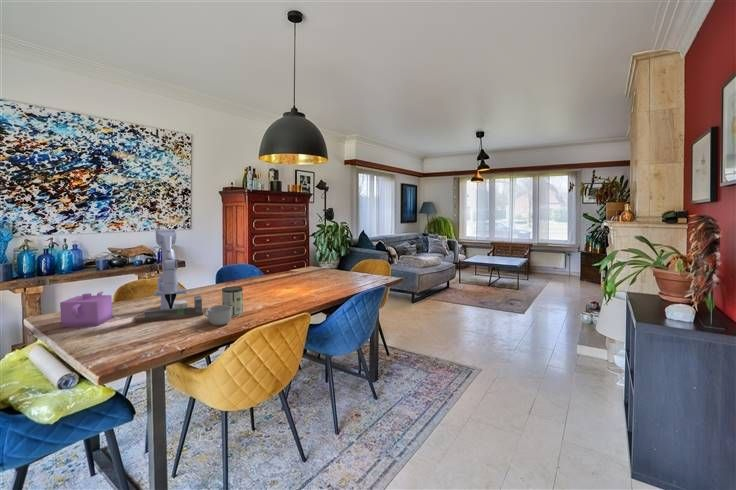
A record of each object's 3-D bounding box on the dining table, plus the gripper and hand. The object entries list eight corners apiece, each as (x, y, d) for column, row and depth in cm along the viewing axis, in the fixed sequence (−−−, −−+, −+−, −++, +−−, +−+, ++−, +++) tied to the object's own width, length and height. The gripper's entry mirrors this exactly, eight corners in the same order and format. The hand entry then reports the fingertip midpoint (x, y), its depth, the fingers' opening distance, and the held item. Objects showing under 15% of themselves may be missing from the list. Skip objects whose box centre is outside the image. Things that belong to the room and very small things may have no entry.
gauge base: (137, 316, 184) (136, 300, 183) (201, 309, 198) (201, 294, 197) (135, 322, 173) (134, 305, 172) (203, 315, 188) (202, 299, 187)
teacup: (236, 321, 178) (236, 306, 177) (220, 328, 168) (220, 311, 167) (214, 318, 183) (213, 303, 182) (197, 324, 172) (197, 308, 172)
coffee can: (228, 311, 197) (227, 285, 195) (246, 312, 195) (245, 286, 194) (218, 316, 186) (218, 289, 185) (237, 317, 185) (237, 290, 184)
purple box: (119, 313, 187) (118, 287, 186) (92, 329, 163) (90, 299, 161) (87, 314, 184) (85, 288, 183) (54, 330, 160) (52, 300, 159)
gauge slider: (174, 310, 189) (174, 301, 188) (186, 309, 192) (186, 300, 191) (174, 315, 181) (174, 305, 181) (187, 313, 184) (187, 304, 184)
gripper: (153, 285, 177) (154, 311, 178) (186, 282, 184) (187, 308, 185) (154, 282, 183) (154, 308, 184) (185, 280, 190) (186, 305, 191)
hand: (171, 308), depth 185 cm, fingers closed
